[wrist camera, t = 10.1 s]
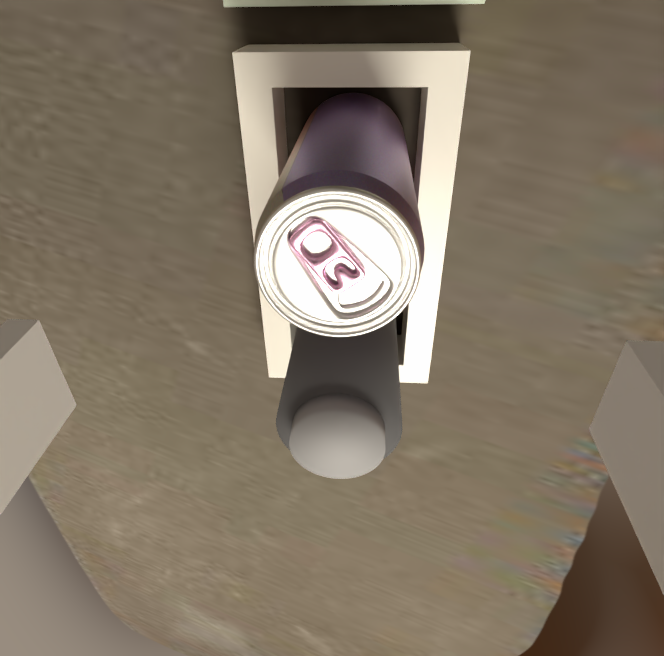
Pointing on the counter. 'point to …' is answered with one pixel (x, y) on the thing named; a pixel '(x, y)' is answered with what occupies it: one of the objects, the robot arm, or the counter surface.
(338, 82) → the white divided tray
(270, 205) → the beverage can
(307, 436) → the single round plug
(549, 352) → the counter surface
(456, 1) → the rectangular frame
